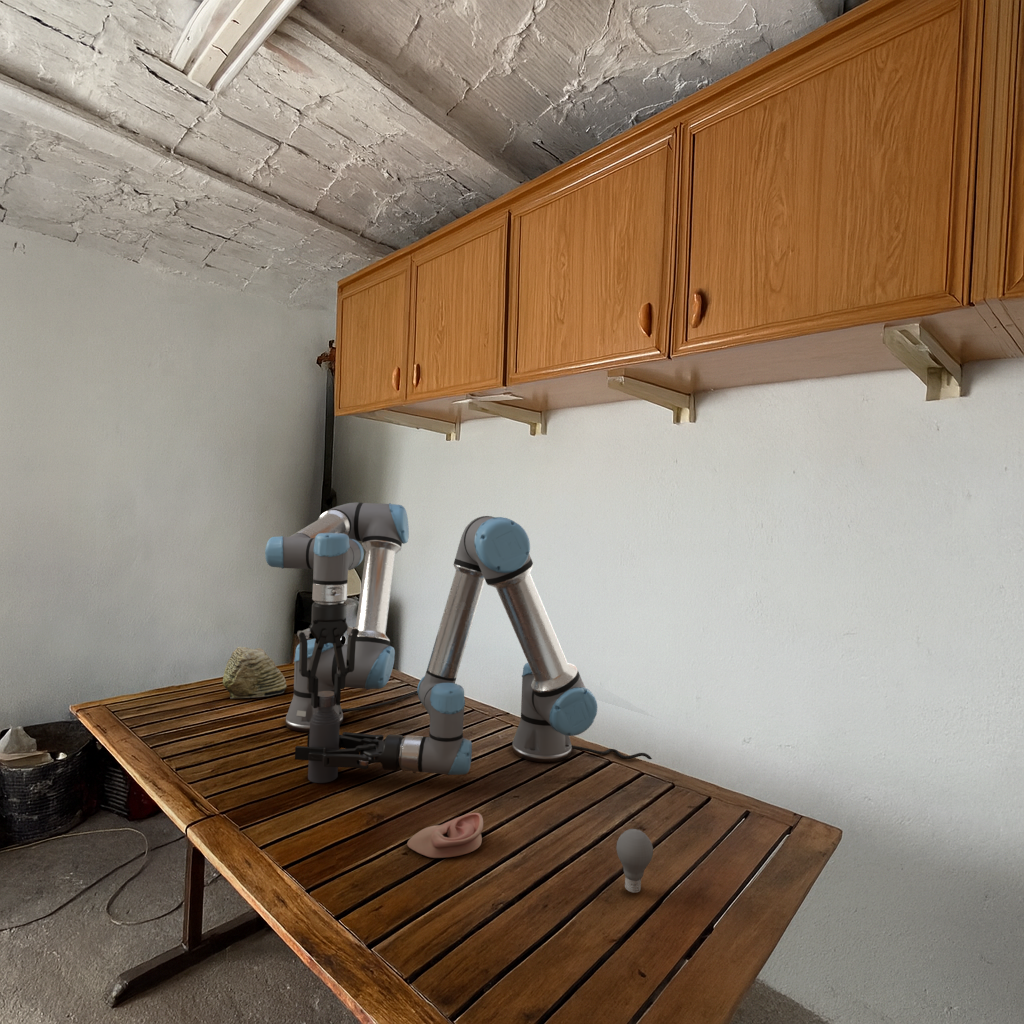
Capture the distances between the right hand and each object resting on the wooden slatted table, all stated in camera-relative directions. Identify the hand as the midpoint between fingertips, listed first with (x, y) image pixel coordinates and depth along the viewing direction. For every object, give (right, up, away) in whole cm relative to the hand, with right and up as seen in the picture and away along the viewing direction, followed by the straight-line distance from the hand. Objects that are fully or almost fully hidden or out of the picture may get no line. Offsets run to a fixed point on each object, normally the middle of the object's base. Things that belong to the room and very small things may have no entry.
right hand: (302, 746), depth 143 cm
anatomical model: (+35, -9, -25) cm, 44 cm away
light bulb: (+68, -10, -38) cm, 78 cm away
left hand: (+5, +10, 0) cm, 11 cm away
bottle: (+5, -7, 0) cm, 8 cm away
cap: (+6, +12, 0) cm, 13 cm away
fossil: (-33, -4, +55) cm, 64 cm away
